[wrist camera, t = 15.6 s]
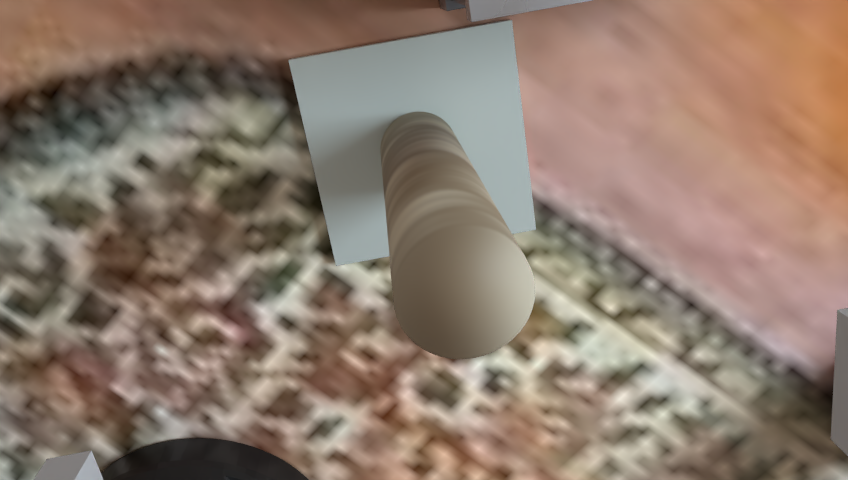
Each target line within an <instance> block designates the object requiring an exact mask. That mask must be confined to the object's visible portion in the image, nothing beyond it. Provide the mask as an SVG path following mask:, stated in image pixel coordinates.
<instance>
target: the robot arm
mask: <svg viewBox="0 0 848 480" xmlns="http://www.w3.org/2000/svg"><path fill="white" fill-rule="evenodd" d="M831 440H832V441H833V442H834V443H835V444H836V445H837V446H838V447H839V448H840V449H841V450H842V451H843V452H844V453H845V454H846V455H847V456H848V308H845V309H840V310H837V327H836V346H835V366H834V385H833V404H832V423H831ZM33 480H308V479H307V478H306V477H305V476H304V475H303V474H302V473H300V472H299V471H298V470H297V469H295V468H294V467H292V466H291V465H290V464H288V463H286V462H285V461H283V460H281V459H280V458H278V457H276V456H274V455H272V454H270V453H267V452H265V451H263V450H260V449H257V448H255V447H252V446H248V445H245V444H241V443H236V442H232V441H226V440H218V439H203V438H196V439H180V440H173V441H167V442H162V443H158V444H154V445H151V446H147V447H145V448H142V449H139V450H137V451H134V452H132V453H130V454H128V455H126V456H124V457H122V458H121V459H119V460H117V461H116V462H114V463H113V464H111V465H110V466H109V467H107V468H106V469H105V470H104V471H102V472H101V473H100V470H99V468H98V465H97V463H96V460H95V458H94V456H93V453H92V451H87V452H81V453H76V454H71V455H66V456H60V457H55V458H50V459H47V460H46V461H45V463H44V464H43V466H42V467H41V469H40V470H39V472H38V473H37V475H36V476H35V478H34V479H33Z"/></svg>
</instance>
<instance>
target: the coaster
mask: <svg viewBox="0 0 848 480" xmlns="http://www.w3.org/2000/svg"><path fill="white" fill-rule="evenodd" d="M289 65H290V69H291V73H292V78H293V82H294V86H295V91H296V95H297V99H298V103H299V108H300V112H301V116H302V121H303V125H304V129H305V134H306V138H307V142H308V147H309V151H310V155H311V160H312V164H313V168H314V173H315V177H316V181H317V186H318V190H319V194H320V199H321V203H322V207H323V212H324V216H325V220H326V225H327V229H328V233H329V238H330V242H331V246H332V251H333V255H334V259H335V263H336V266H338V265H343V264H349V263H354V262H360V261H366V260H371V259H377V258H382V257H388V256H389V245H388V233H387V222H386V210H385V199H384V187H383V176H382V164H381V153H380V147H381V141H382V138H383V135H384V133H385V131H386V130H387V128H388V127H389V125H390V124H391V123H392V122H393V121H394V120H396V119H397V118H399V117H400V116H402V115H405V114H407V113H411V112H428V113H432V114H434V115H437V116H438V117H440V118H442V119H443V120H444V121H445V122H446V123H447V124H448V125H449V126H450V127H451V129H452V130H453V132H454V134H455V136H456V137H457V139H458V141H459V143H460V144H461V146H462V148H463V150H464V151H465V153H466V155H467V157H468V158H469V160H470V162H471V164H472V165H473V167H474V169H475V170H476V172H477V174H478V176H479V177H480V179H481V181H482V183H483V184H484V186H485V188H486V190H487V191H488V193H489V195H490V197H491V198H492V200H493V202H494V204H495V205H496V207H497V209H498V211H499V212H500V214H501V216H502V218H503V219H504V221H505V223H506V225H507V226H508V228H509V230H510V231H511V233H512V234H515V233H520V232H526V231H531V230H536V226H535V217H534V208H533V200H532V191H531V182H530V174H529V165H528V156H527V148H526V139H525V130H524V122H523V113H522V104H521V96H520V87H519V78H518V69H517V61H516V52H515V43H514V35H513V26H512V20H510V19H508V20H503V21H497V22H492V23H486V24H480V25H475V26H469V27H464V28H458V29H453V30H447V31H441V32H436V33H430V34H425V35H419V36H413V37H408V38H402V39H397V40H391V41H386V42H380V43H374V44H369V45H363V46H358V47H352V48H346V49H341V50H335V51H330V52H324V53H319V54H313V55H307V56H302V57H296V58H291V59H289Z"/></svg>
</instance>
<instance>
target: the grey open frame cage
mask: <svg viewBox="0 0 848 480" xmlns="http://www.w3.org/2000/svg"><path fill="white" fill-rule="evenodd" d="M586 1H592V0H439V4H440V8H441V9H444V10H446V11H450V10H455V9H461V8H466V13H467V20H468V21H471V22H474V21H480V20H486V19H491V18H497V17H502V16H508V15H514V14H519V13H525V12H530V11H536V10H541V9H547V8H553V7H558V6H564V5H569V4H575V3H581V2H586Z"/></svg>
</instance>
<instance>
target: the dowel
mask: <svg viewBox="0 0 848 480" xmlns="http://www.w3.org/2000/svg"><path fill="white" fill-rule="evenodd" d="M380 153H381V164H382V176H383V187H384V199H385V210H386V222H387V233H388V245H389V256H390V268H391V279H392V291H393V302H394V310H395V313H396V317H397V319H398V322H399V324H400V326H401V327H402V329H403V331H404V332H405V333H406V335H407V336H408V337H409V338H410V339H411V340H412V341H413V342H414V343H415V344H416V345H418V346H419V347H421V348H422V349H424V350H426V351H428V352H430V353H432V354H435V355H438V356H441V357H445V358H452V359H469V358H476V357H480V356H484V355H486V354H489V353H492V352H494V351H496V350H498V349H500V348H501V347H503V346H504V345H506V344H507V343H508V342H510V341H511V340H512V339H513V338H514V337H515V336H516V335H517V334H518V333H519V332H520V331H521V329H522V328H523V327H524V325H525V324H526V322H527V320H528V318H529V316H530V314H531V311H532V309H533V305H534V300H535V281H534V276H533V273H532V270H531V267H530V265H529V263H528V261H527V259H526V258H525V256H524V254H523V252H522V251H521V249H520V247H519V245H518V244H517V242H516V240H515V238H514V237H513V235H512V233H511V231H510V230H509V228H508V226H507V225H506V223H505V221H504V219H503V218H502V216H501V214H500V212H499V211H498V209H497V207H496V205H495V204H494V202H493V200H492V198H491V197H490V195H489V193H488V191H487V190H486V188H485V186H484V184H483V183H482V181H481V179H480V177H479V176H478V174H477V172H476V170H475V169H474V167H473V165H472V164H471V162H470V160H469V158H468V157H467V155H466V153H465V151H464V150H463V148H462V146H461V144H460V143H459V141H458V139H457V137H456V136H455V134H454V132H453V130H452V129H451V127H450V126H449V125H448V124H447V123H446V122H445V121H444V120H443V119H442V118H440V117H438V116H437V115H434V114H432V113H428V112H411V113H407V114H405V115H402V116H400V117H399V118H397V119H396V120H394V121H393V122H392V123H391V124H390V125H389V127H388V128H387V130H386V131H385V133H384V135H383V138H382V141H381V147H380Z"/></svg>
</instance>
